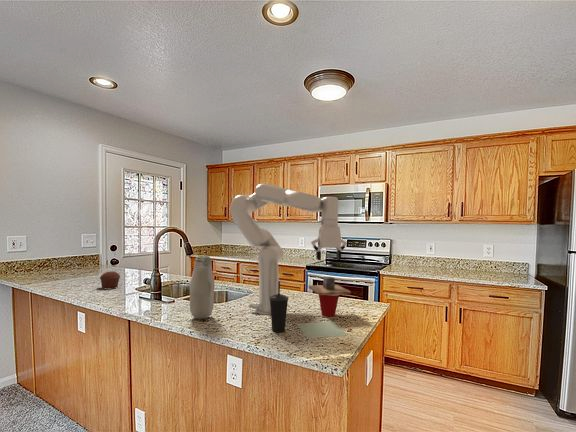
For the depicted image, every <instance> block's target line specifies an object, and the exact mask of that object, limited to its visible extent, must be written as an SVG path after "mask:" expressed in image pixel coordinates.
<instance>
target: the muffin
mask: <svg viewBox="0 0 576 432" xmlns="http://www.w3.org/2000/svg"><path fill="white" fill-rule="evenodd" d="M120 278H121V276H120V273H118V272H117V271H112V270H111V271H106V272H104V273H102V274H101V276H100V277H99V280H100V285H101V289H102V288H112V289H116V288H115V287H117V288H118V286H119V282H120V281H119V280H120Z"/></svg>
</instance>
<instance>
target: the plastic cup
mask: <svg viewBox="0 0 576 432" xmlns="http://www.w3.org/2000/svg"><path fill="white" fill-rule="evenodd" d="M340 296H341V294H334V295H318V297H319V298H318V299H319V306H320V312H321V316H323V317H326V318H334V317H335V316H336V311H337V309H338V308H337V307H338V302H339V298H340Z"/></svg>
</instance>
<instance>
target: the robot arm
mask: <svg viewBox="0 0 576 432" xmlns="http://www.w3.org/2000/svg"><path fill="white" fill-rule="evenodd" d="M268 204H275V205H278V206H281V207H290V208H295V209H299V210H304V211H308V212H310V213H311V212H312V213H320V212H321V219H320V220H318V223H319V224H321V225H320V226H319V230H318V235H317V236H318V238H316V239H313V240H312V241H311V242H310V243H311V246H312V248H313V249H314V250H315V252H316V257H315V258H316V260H317V261H322V259H321V258H322V252H321V250H322V249H323V248H327V249H330V248H331V249H334V248H335V249H336V257H335V258H336V260H338V261H341V259H342V252H343V250H344V249H345V248H346V246H347V244H348V243H347V241H345V240H344V239H342V237H341V236H342V235H341V234H342V233H341V227H340V226H338V225H339V199H338V197H336V196H325V197H318V196H317V195H315V194H311V193H306V192H303V191H296V190H292V189H289V188H285V187H280V186H276V185H273V184H268V183H259V184H258V185H256V187H255V188H254V193H253V194H251V195H245V194H238V195H236V196H235V197H234V198H233V199H232V201H231V203H230V206H229V212H230V216H231V219H232V221H233V222H234V224H235V225H236V226H237V228H238V230H240V232H241V234H242V236H243V237H244V238H245V239H246V241H247V242H248V244H249V245H250V246H251V247H253V248H255V249H256V248H259V250H260V251H259V253H258V255H257V256H258V259H257V261H258V281H259V282H258V300H257V302H255V303H249V304H248V308H249V309H252V310H255V313H256V314H258V315H261V316H271V307H270V299H269V297H270V296H273V295H275V294H278V281H280V277H279V276H280V274H279V273H280V271H279V263H280V262H281V261H282V260H283V258H284V251H283V249H282V247H281V246H280V244H279V243H278V242H277V240H276V239H275V238H274V236H273V235H272V234H271V232H270V231H268V229H265V228H261V227H260V226H259V225H258V223H256V220H254V218H253V217H252V216H251V214H249V213H253V212H256V211H257V210H259V209H261V208H262V207H264V206H266V205H268ZM316 244H317V245H316Z"/></svg>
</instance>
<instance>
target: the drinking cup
mask: <svg viewBox="0 0 576 432" xmlns="http://www.w3.org/2000/svg"><path fill="white" fill-rule="evenodd" d="M269 299H270V307H271V315H270V319H271V330H272V332H273V333H274V334H275V333H276V334H281V333H284V332H285V330H286V322H287V312H288V302H289V301H288V300H289V296H287V295H285V294H283V293H281V281H280V280H279V281H278V294H275V295H273V296H270V297H269Z"/></svg>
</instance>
